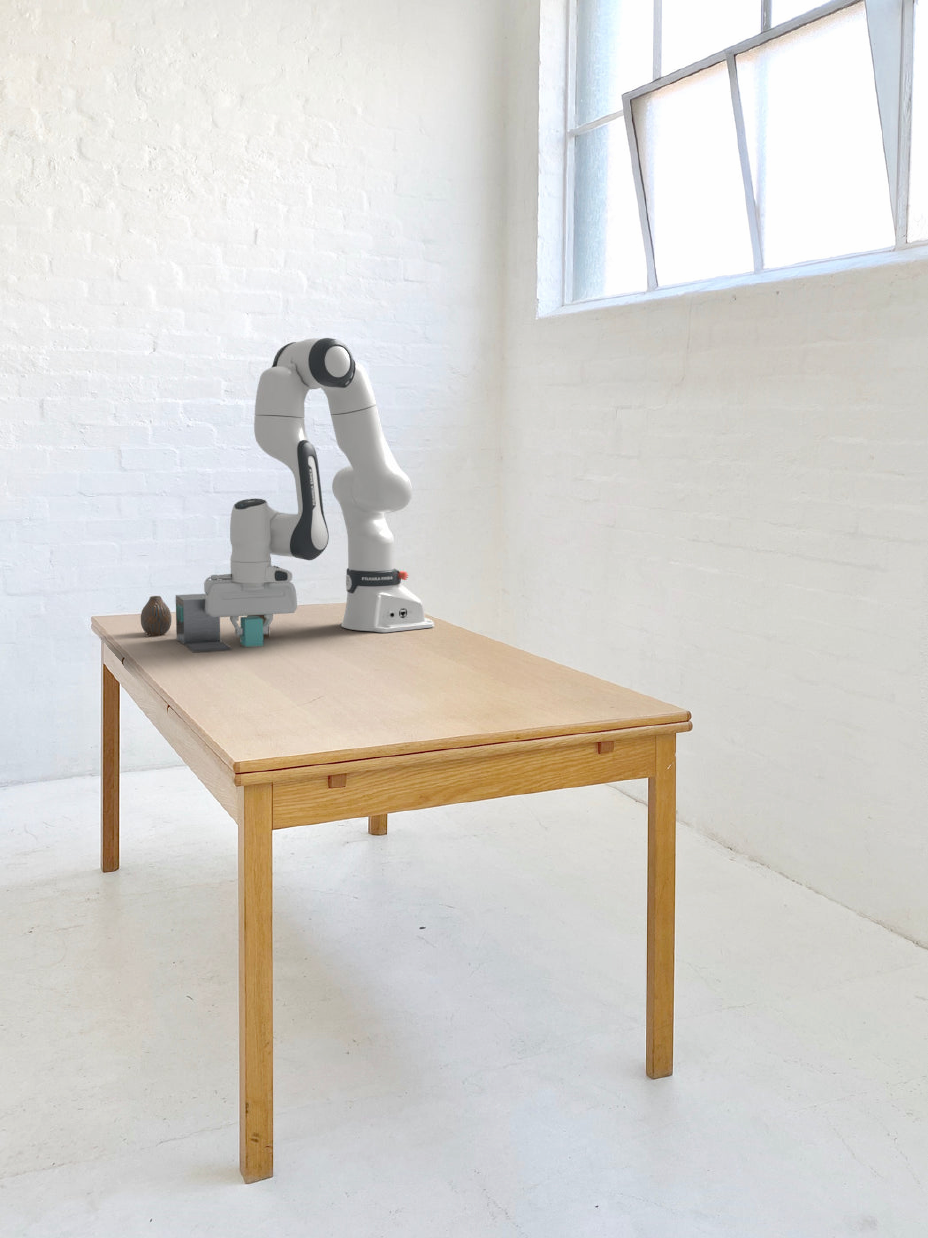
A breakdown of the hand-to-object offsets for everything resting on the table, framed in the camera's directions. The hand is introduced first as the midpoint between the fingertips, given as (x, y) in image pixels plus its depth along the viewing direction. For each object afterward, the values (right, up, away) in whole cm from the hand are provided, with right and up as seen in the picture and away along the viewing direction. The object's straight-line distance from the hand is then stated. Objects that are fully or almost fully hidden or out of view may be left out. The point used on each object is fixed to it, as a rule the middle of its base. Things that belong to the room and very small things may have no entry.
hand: (251, 634), depth 266 cm
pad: (-9, -3, -5) cm, 10 cm away
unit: (-13, -1, +4) cm, 13 cm away
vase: (-24, 0, +11) cm, 26 cm away
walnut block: (0, -1, +10) cm, 10 cm away
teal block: (0, -2, 0) cm, 2 cm away
